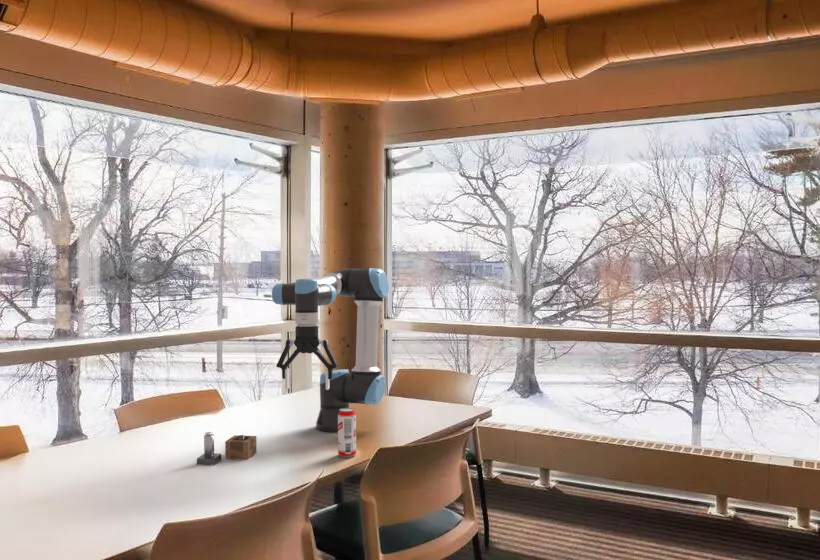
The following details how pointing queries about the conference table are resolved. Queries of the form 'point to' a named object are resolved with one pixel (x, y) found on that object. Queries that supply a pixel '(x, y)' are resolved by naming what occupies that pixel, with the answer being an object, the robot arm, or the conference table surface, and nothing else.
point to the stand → (241, 437)
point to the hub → (209, 451)
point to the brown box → (240, 447)
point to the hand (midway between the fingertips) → (307, 388)
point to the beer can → (347, 432)
